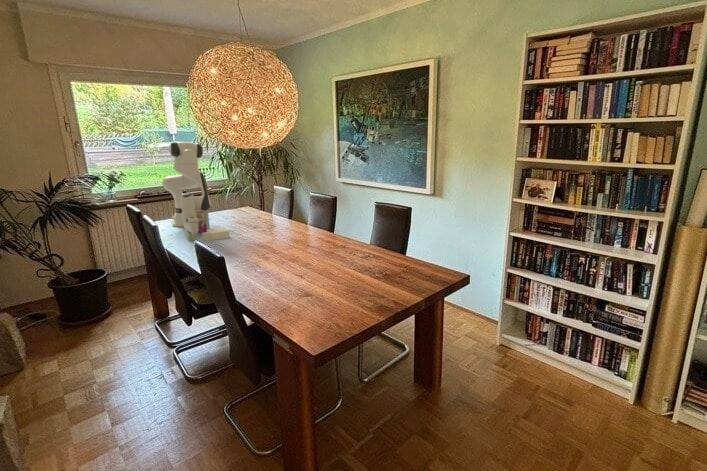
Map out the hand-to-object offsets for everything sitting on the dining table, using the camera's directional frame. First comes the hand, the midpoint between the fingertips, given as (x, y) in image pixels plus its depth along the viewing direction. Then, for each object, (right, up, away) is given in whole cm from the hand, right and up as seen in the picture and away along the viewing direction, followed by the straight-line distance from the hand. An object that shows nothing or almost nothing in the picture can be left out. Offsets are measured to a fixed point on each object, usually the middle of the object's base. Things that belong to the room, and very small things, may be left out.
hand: (191, 237), depth 245 cm
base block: (+15, 0, +9) cm, 17 cm away
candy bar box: (-2, +4, +20) cm, 21 cm away
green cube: (0, -2, 0) cm, 2 cm away
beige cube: (+11, -2, 0) cm, 11 cm away
